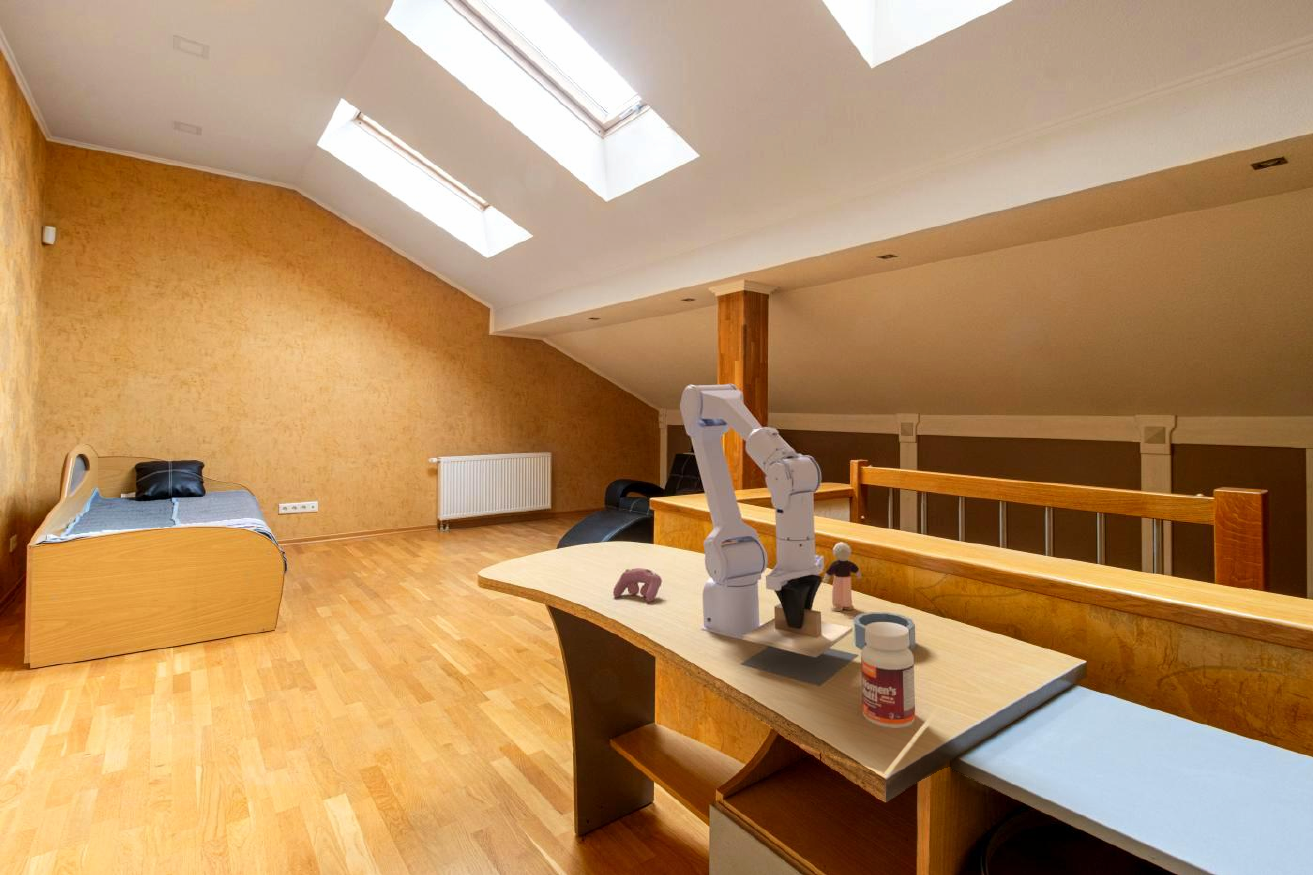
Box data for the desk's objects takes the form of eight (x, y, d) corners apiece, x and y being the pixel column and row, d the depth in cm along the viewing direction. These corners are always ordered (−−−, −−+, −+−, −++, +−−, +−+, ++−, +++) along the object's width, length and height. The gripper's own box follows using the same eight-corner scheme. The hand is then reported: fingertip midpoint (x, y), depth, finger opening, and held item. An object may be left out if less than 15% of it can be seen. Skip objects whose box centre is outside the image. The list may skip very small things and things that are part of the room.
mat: (740, 666, 95) (740, 663, 95) (783, 639, 105) (783, 637, 105) (819, 688, 86) (819, 685, 86) (858, 657, 96) (858, 654, 96)
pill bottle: (854, 721, 77) (851, 631, 77) (873, 701, 82) (871, 616, 81) (905, 736, 73) (903, 641, 73) (922, 715, 78) (920, 625, 77)
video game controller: (660, 605, 131) (666, 572, 133) (649, 601, 127) (655, 567, 129) (621, 600, 136) (628, 568, 138) (609, 596, 132) (617, 563, 135)
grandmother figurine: (834, 614, 116) (832, 546, 115) (821, 608, 119) (819, 542, 119) (867, 607, 119) (865, 541, 118) (853, 602, 122) (851, 538, 122)
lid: (743, 639, 95) (742, 612, 95) (783, 616, 104) (782, 592, 104) (816, 657, 87) (815, 628, 87) (852, 631, 96) (851, 605, 96)
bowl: (845, 649, 100) (844, 624, 99) (868, 632, 106) (867, 608, 106) (902, 662, 94) (901, 635, 93) (922, 643, 100) (922, 618, 100)
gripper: (795, 549, 86) (798, 645, 87) (841, 530, 97) (843, 616, 98) (752, 543, 91) (755, 635, 92) (800, 526, 102) (802, 608, 103)
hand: (798, 625), depth 95 cm, fingers closed on lid, 2 cm apart
